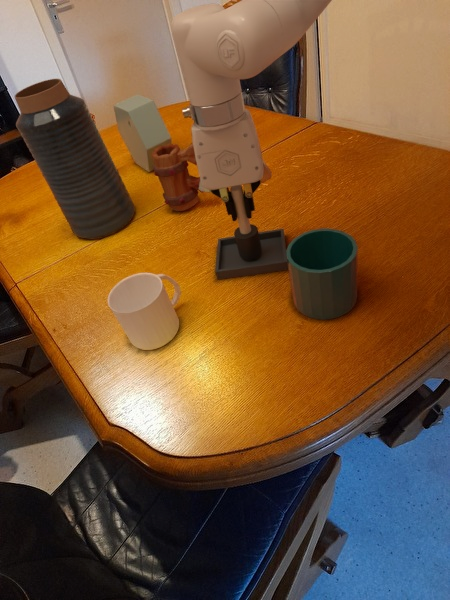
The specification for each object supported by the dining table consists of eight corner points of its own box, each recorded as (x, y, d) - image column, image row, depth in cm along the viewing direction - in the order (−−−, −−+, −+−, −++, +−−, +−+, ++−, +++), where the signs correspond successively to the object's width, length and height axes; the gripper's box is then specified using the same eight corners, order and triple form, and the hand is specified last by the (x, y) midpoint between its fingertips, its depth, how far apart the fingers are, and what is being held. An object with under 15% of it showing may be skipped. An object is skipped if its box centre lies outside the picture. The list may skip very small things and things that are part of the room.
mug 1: (145, 360, 65) (122, 322, 59) (121, 332, 71) (98, 294, 65) (203, 318, 69) (188, 278, 63) (176, 294, 75) (159, 256, 69)
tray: (284, 236, 80) (283, 228, 79) (288, 270, 73) (286, 261, 72) (220, 246, 83) (217, 238, 81) (217, 279, 76) (214, 271, 74)
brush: (261, 243, 78) (248, 178, 69) (262, 257, 75) (248, 191, 66) (239, 247, 79) (223, 183, 70) (239, 261, 76) (222, 196, 66)
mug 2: (160, 214, 97) (137, 156, 87) (174, 196, 102) (154, 138, 92) (215, 215, 92) (198, 153, 81) (227, 195, 97) (212, 134, 86)
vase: (118, 241, 93) (46, 99, 71) (62, 241, 99) (-20, 109, 77) (147, 201, 103) (92, 67, 82) (94, 203, 109) (30, 78, 88)
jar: (350, 272, 69) (350, 223, 62) (362, 315, 62) (363, 266, 55) (291, 280, 71) (284, 234, 64) (295, 323, 64) (288, 276, 57)
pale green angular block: (172, 172, 123) (171, 123, 103) (150, 183, 120) (145, 135, 101) (142, 132, 126) (136, 77, 106) (120, 142, 124) (110, 88, 104)
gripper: (163, 131, 58) (197, 235, 70) (274, 107, 55) (289, 220, 67) (170, 111, 63) (200, 211, 76) (271, 88, 60) (286, 196, 73)
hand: (242, 214), depth 71 cm, fingers closed on brush, 2 cm apart
